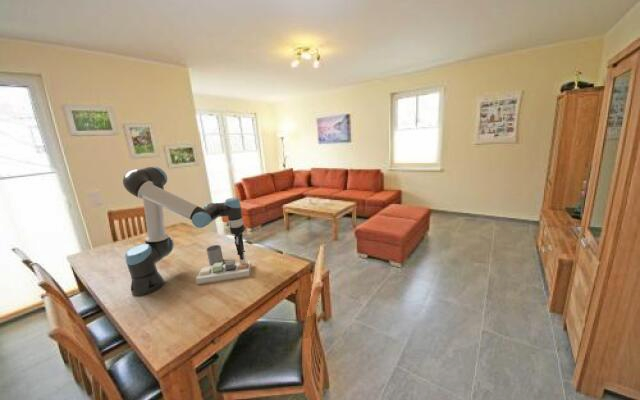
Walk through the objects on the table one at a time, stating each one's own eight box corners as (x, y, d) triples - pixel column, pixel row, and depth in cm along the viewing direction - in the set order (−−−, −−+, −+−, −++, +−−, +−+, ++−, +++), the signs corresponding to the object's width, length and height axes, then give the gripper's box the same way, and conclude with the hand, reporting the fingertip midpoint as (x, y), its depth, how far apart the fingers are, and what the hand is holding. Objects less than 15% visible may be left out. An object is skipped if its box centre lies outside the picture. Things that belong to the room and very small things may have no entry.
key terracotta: (239, 272, 144) (238, 266, 143) (240, 268, 148) (239, 262, 147) (247, 271, 145) (246, 265, 144) (248, 267, 149) (247, 261, 148)
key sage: (213, 273, 141) (212, 267, 140) (215, 269, 146) (213, 263, 145) (222, 272, 142) (220, 266, 141) (223, 268, 147) (222, 262, 145)
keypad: (197, 284, 137) (196, 278, 136) (203, 273, 149) (202, 267, 148) (249, 276, 142) (248, 270, 141) (251, 265, 153) (250, 260, 152)
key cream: (200, 278, 141) (199, 272, 140) (203, 274, 145) (201, 268, 144) (209, 277, 141) (208, 270, 140) (211, 272, 146) (210, 266, 145)
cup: (218, 265, 156) (215, 251, 154) (206, 265, 158) (203, 250, 155) (225, 259, 164) (223, 245, 161) (214, 258, 166) (211, 244, 163)
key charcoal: (226, 272, 142) (225, 265, 141) (227, 267, 147) (226, 261, 146) (234, 270, 143) (233, 264, 142) (236, 266, 148) (235, 260, 147)
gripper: (242, 228, 134) (248, 268, 140) (244, 220, 146) (250, 257, 152) (227, 230, 132) (234, 270, 139) (231, 222, 145) (237, 259, 151)
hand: (243, 263), depth 145 cm, fingers closed
